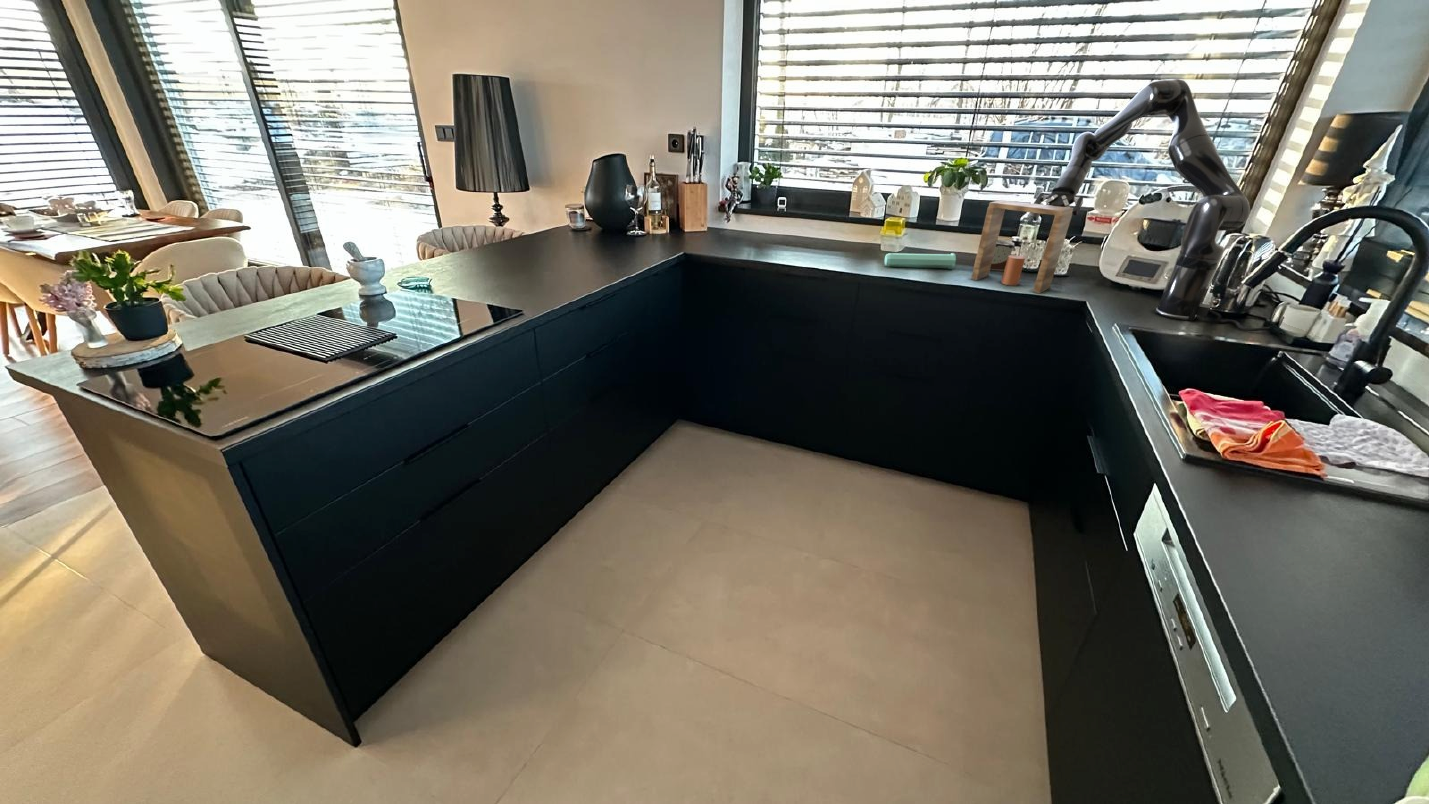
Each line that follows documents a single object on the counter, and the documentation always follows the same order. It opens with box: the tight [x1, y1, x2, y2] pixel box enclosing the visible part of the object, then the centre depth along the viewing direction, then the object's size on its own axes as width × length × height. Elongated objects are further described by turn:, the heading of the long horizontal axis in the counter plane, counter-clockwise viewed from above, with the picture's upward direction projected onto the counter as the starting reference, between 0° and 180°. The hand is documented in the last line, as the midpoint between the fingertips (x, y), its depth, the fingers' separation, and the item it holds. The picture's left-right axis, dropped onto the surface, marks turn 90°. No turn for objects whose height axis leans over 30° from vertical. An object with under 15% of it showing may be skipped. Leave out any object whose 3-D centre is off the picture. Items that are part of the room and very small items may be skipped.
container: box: [884, 252, 957, 270], centre depth 206 cm, size 6×6×25 cm
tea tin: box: [1000, 254, 1026, 287], centre depth 188 cm, size 5×5×9 cm
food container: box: [990, 239, 1016, 272], centre depth 207 cm, size 12×6×10 cm, turn 84°
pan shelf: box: [970, 199, 1074, 294], centre depth 184 cm, size 22×10×26 cm, turn 44°
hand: (1048, 221), depth 191 cm, fingers open, 8 cm apart
